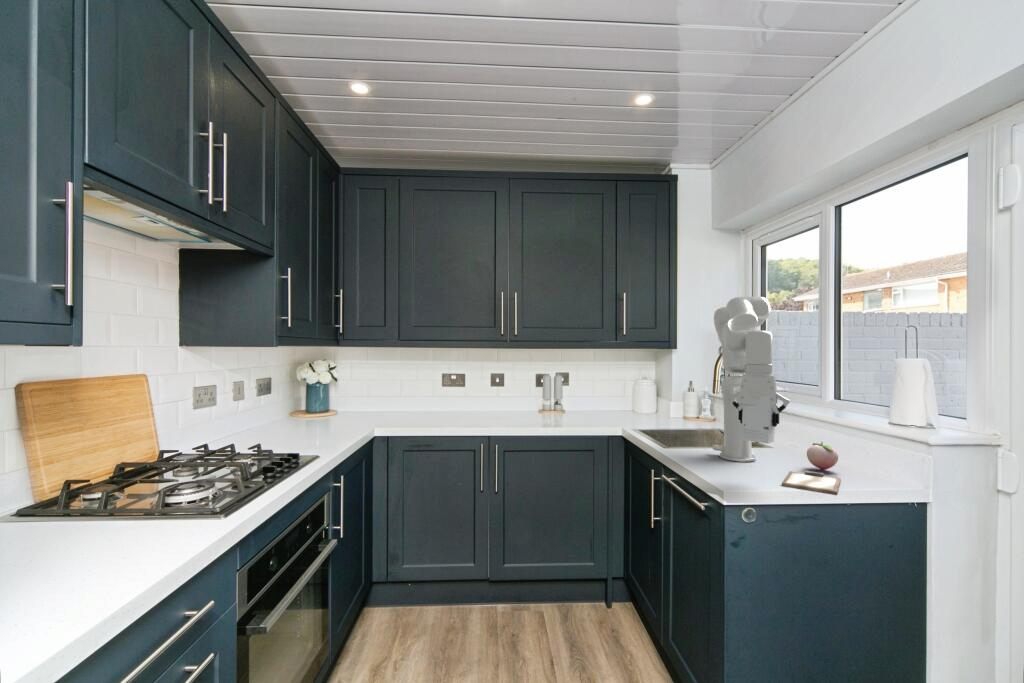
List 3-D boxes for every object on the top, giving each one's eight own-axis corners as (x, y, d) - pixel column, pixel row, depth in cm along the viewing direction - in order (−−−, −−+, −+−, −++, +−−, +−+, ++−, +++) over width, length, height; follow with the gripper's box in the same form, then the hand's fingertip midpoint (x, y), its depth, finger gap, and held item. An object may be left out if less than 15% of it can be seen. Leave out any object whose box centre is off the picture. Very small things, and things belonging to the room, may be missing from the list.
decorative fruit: (800, 467, 165) (800, 439, 165) (818, 466, 167) (818, 438, 167) (824, 474, 156) (823, 445, 156) (843, 473, 158) (843, 443, 158)
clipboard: (781, 485, 144) (781, 479, 144) (789, 473, 157) (789, 468, 157) (836, 494, 135) (836, 488, 135) (840, 481, 148) (840, 475, 148)
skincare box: (741, 440, 148) (741, 393, 148) (748, 437, 152) (748, 391, 152) (769, 444, 142) (769, 395, 142) (776, 441, 146) (776, 393, 146)
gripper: (726, 369, 149) (726, 423, 149) (788, 371, 138) (788, 429, 139) (731, 368, 155) (731, 419, 155) (792, 370, 144) (792, 425, 144)
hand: (758, 424), depth 147 cm, fingers closed on skincare box, 8 cm apart
